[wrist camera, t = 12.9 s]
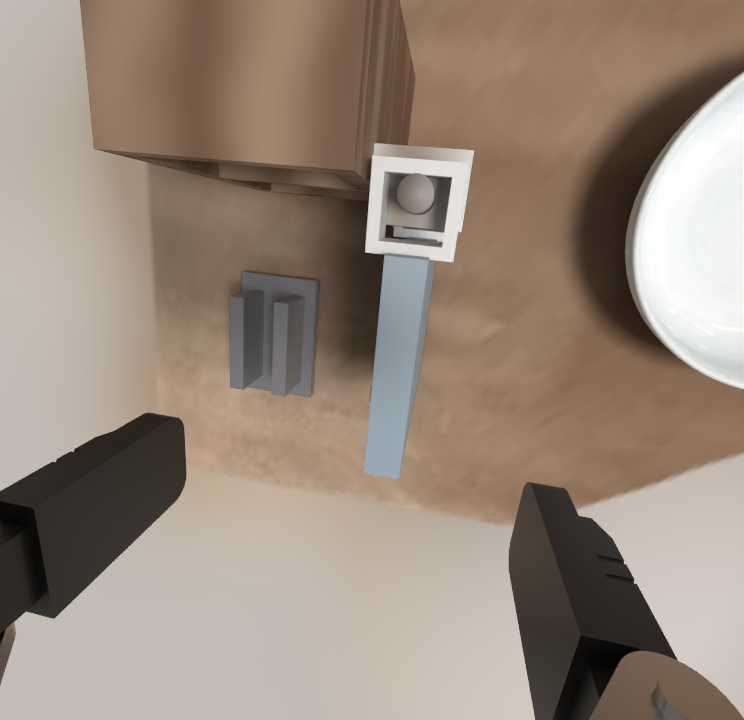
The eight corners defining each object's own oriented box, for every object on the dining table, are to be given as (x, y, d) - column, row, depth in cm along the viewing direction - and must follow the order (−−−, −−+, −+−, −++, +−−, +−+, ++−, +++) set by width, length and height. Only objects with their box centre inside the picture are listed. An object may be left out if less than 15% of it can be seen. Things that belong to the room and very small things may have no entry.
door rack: (320, 280, 37) (301, 286, 32) (313, 393, 40) (295, 414, 35) (246, 271, 38) (217, 276, 33) (246, 382, 41) (219, 401, 36)
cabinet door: (462, 180, 31) (469, 160, 17) (432, 372, 37) (418, 483, 23) (407, 175, 32) (368, 153, 17) (386, 365, 38) (344, 469, 23)
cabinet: (479, 81, 30) (519, -116, 13) (456, 234, 34) (464, 230, 17) (265, 70, 33) (69, -110, 16) (263, 214, 36) (98, 193, 19)
